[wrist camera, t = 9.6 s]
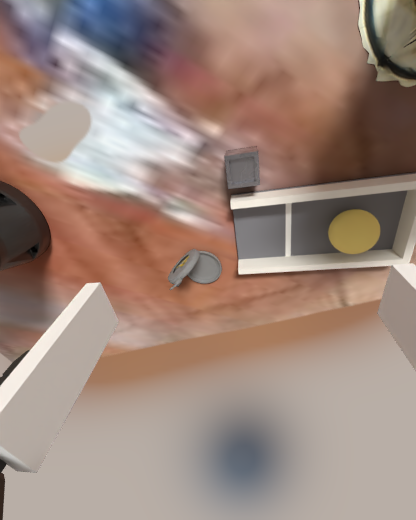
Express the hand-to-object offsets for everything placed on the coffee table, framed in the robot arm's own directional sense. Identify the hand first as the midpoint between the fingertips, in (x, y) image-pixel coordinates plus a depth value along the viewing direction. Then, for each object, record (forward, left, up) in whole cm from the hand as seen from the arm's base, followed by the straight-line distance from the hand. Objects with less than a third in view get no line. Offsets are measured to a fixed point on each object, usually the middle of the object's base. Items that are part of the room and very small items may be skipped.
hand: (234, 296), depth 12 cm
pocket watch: (-9, -14, -27) cm, 32 cm away
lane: (+10, -9, -27) cm, 30 cm away
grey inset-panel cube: (0, +1, -27) cm, 27 cm away
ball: (+14, -9, -26) cm, 31 cm away
